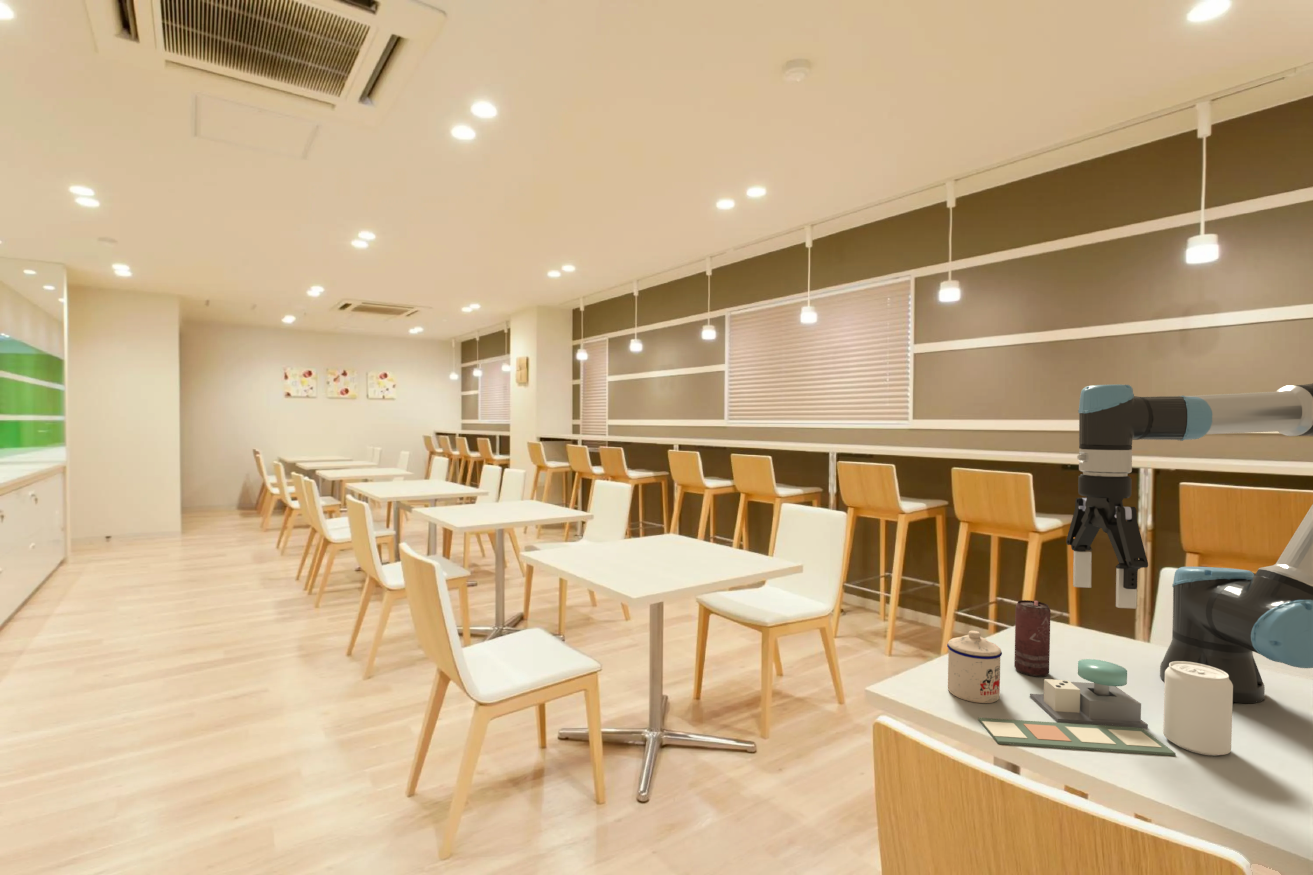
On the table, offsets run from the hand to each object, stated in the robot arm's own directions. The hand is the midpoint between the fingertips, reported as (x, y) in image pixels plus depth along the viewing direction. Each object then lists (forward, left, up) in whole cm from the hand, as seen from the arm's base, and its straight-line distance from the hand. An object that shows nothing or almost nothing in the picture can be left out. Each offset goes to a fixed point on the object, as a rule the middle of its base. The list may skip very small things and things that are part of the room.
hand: (1102, 596), depth 109 cm
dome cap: (0, 0, -17) cm, 17 cm away
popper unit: (+2, 0, -20) cm, 21 cm away
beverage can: (-9, +10, -21) cm, 24 cm away
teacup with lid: (+18, -6, -21) cm, 28 cm away
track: (+10, +10, -20) cm, 25 cm away
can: (+3, -18, -21) cm, 27 cm away
